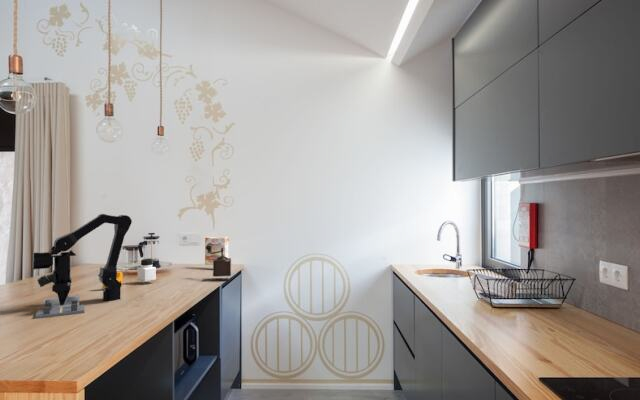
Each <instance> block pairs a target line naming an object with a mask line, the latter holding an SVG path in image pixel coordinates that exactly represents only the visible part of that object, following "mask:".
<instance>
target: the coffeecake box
mask: <svg viewBox="0 0 640 400" xmlns="http://www.w3.org/2000/svg"><path fill="white" fill-rule="evenodd" d="M204 239H205V240H204V247H205V248H204V265H205V266H213V260H214V259H217V258H218V257H220V256H221V252H219V253H214V254H210V253H208V250H207V249H206V246H207V245H211V246H212V248H211V250H212V252H218V251H221V248H223V256H225V257H227V258H229V255H230V253H229V252H230V251H229V241H230V240H229V236H206V237H204ZM212 252H211V253H212Z"/></svg>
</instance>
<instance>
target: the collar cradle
mask: <svg viewBox="0 0 640 400" xmlns="http://www.w3.org/2000/svg"><path fill="white" fill-rule="evenodd" d="M84 313H85V304H79V305H77V300H73V301H72V304H71V306H68V307H60V308H51V303H45V302H44V307H43V308H41V309H37V310H36V313H35V316H34V319H37V320H38V319H43V318H45V319H46V318H52V317H62V316H68V315H78V314H84Z"/></svg>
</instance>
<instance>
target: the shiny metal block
mask: <svg viewBox="0 0 640 400" xmlns="http://www.w3.org/2000/svg"><path fill="white" fill-rule="evenodd" d="M73 300H77V305H80V295H79V294H78V293H76V294H68V296H67V298H66V300H65V303H64V305H60V302H59V298H58V296H52V297H45V298H44V304H45V303H51V308H60V307H68V306H71V304H72V301H73Z"/></svg>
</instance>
